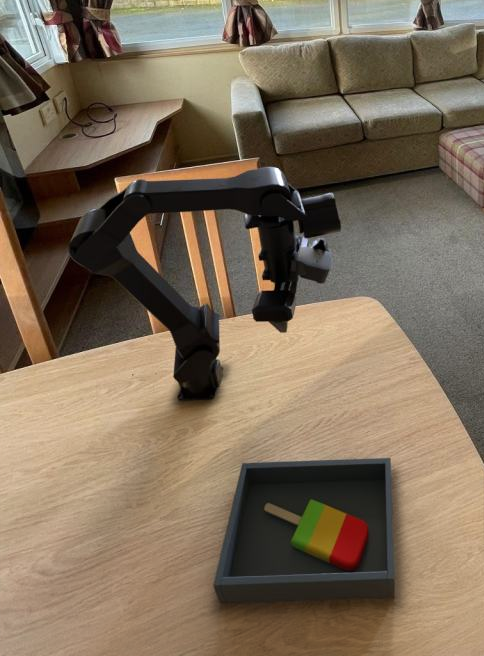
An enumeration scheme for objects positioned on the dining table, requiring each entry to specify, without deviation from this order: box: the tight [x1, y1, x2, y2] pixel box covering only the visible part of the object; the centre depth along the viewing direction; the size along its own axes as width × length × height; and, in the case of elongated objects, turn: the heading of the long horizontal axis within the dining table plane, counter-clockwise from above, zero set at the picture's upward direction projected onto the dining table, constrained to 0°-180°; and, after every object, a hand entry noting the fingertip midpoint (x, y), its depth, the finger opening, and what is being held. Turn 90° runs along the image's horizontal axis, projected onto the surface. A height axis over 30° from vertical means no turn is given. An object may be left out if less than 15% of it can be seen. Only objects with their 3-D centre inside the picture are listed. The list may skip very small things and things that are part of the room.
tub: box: [213, 457, 396, 605], centre depth 65 cm, size 22×14×5 cm, turn 91°
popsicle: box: [264, 499, 369, 572], centre depth 65 cm, size 6×15×2 cm, turn 70°
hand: (288, 311), depth 87 cm, fingers open, 9 cm apart
